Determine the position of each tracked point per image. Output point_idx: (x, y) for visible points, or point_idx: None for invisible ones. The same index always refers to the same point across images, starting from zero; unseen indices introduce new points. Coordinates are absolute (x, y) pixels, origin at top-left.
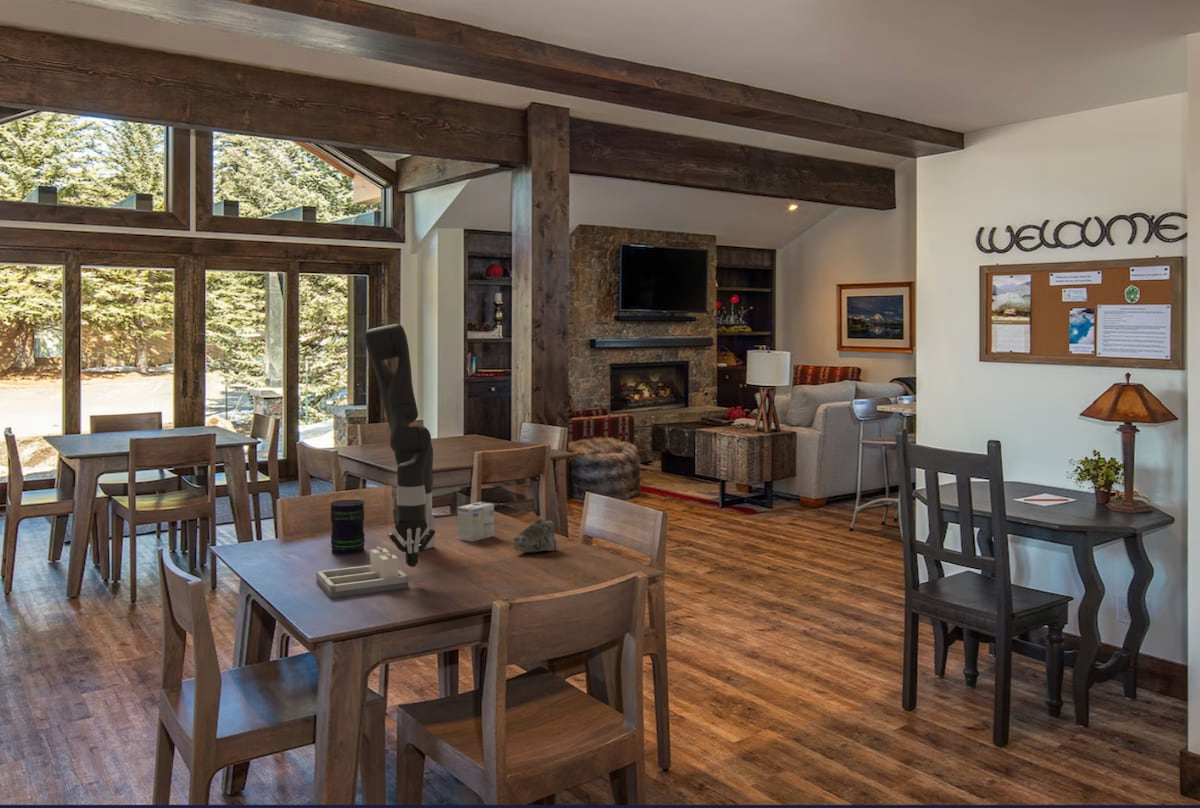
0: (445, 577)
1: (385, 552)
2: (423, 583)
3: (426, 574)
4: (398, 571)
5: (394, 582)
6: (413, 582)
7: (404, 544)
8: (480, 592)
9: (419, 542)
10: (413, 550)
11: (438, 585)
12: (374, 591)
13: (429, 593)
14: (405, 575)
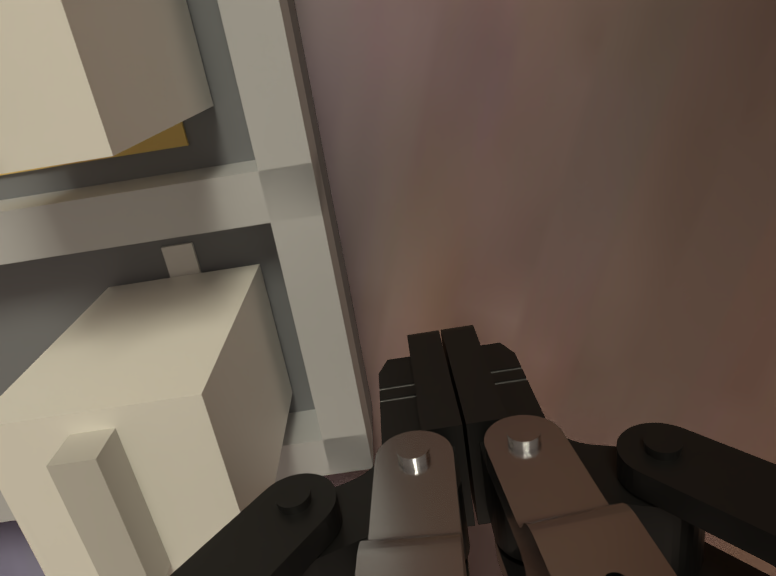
0: (755, 201)
1: (53, 164)
2: (513, 326)
3: (635, 18)
4: (281, 445)
5: None
6: (440, 272)
7: (368, 537)
8: None
9: (687, 498)
10: (495, 542)
11: (605, 411)
12: None
13: (486, 558)
14: (351, 437)
